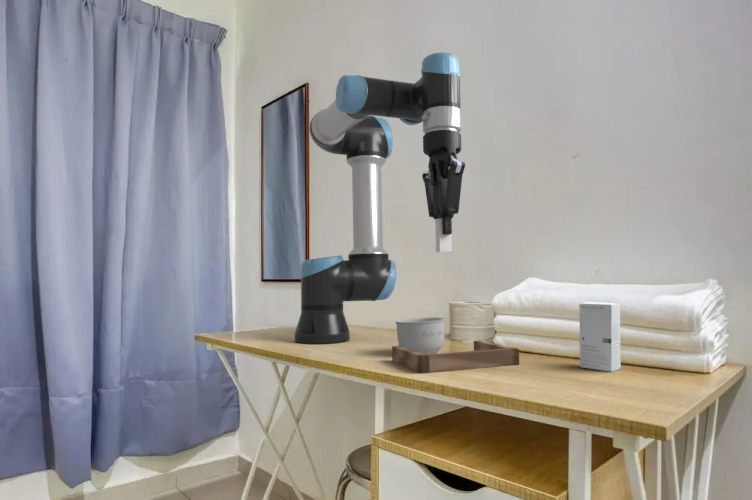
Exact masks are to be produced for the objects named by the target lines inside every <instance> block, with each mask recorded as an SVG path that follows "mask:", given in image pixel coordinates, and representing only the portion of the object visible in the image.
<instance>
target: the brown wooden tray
mask: <svg viewBox="0 0 752 500" xmlns="http://www.w3.org/2000/svg"><path fill="white" fill-rule="evenodd" d="M391 361H392V362H393V363H396V364H397V365H398V364H399V365H402V366H403V367H406V368H408V369H411V370H413V371H416V372H418V373H421V374H427V373H430V374H431V373H438V372H439V373H441V372H450V371H451V372H452V371H460V370H461V371H463V370H472V369H483V368H484V369H485V367H486V368H496V367H505V366H506V367H507V366H519V365H520V349H519V348H516V347H512V346H508V345H502V344H498V343H494V342H493V343H492V342H489V341H483V340H473V350H472V351H471V350H470V351H456V352H443V353H436V354H427V355H425V354H422V353H419V352H416V351H413V350H410V349H407V348H404V347H401V346H399V345H394V346H393V345H391Z"/></svg>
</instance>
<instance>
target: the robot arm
mask: <svg viewBox="0 0 752 500" xmlns="http://www.w3.org/2000/svg"><path fill="white" fill-rule="evenodd" d="M459 61H460V60H459V58H458V57H457V56H456V55H455V54H453V53H449V52H442V51H441V52H435V53H434V52H433V53H431V54H428V55H426V56H425V57H424V58H423V60H422V63H421V70H420V73H421V77H420V78H419V79H418V80H417V81H415V82H414V83H413V82H404V81H398V80H396V81H395V80H389V79H381V78H375V77H368V76H362V75H358V74H356V75H352V74H350V75H348V74H344V75H342V76H341V77H340V78H339V80H338V83H337V86H336V89H335V100H334V101H332V103H331V104H330V105H329V106H327V108H324V109H320V110H319V111H317V112H316V113H315V114H314V116H313V117H312V118H311V120H310V122H309V128H308V129H309V135H310V137H311V139H312V141H313V142H314V143H315V145H317V146H318V147H319V148H320V149H321V150H324V151H325V152H327V153H330V154H334V155H342V156H343V155H344V156H345V157H346V163H347V165H349V167H351V174H352V175H351V176H352V177H351V182H352V184H351V185H352V238H353V239H352V240H353V241H352V242H353V243H352V244H353V248H352V250H351V251H349V253H348V257H347V258H348V260H347V259H346V260H344V257H343V255H340V254H339V255H331V256H325V257H316V258H310V259H305V260H304V261H303V262H301V263H302V264H301V265H300V266H301V268H300V269H301V271H300V276H299V278H300V300H301V301H300V303H301V304H300V306H301V307H300V311H301V312H300V316H299V319H298V322H297V326H296V328H295V331H294V342H296V343H301V344H334V343H342V342H348V341H350V339H351V337H350V336H351V333H350V329H349V325H348V322H347V320H346V317H345V314H344V302H365V301H366V302H368V301H371V302H375V301H384V300H388V299H389V298H390V296H392V293H393V292H394V290H395V286H396V283H397V268H396V263H395V261H393V260H391V259H389V253H388V251H387V250H386V249H384V243H383V241H384V239H383V237H384V235H383V232H384V231H383V230H384V229H383V199H382V196H383V194H382V192H383V191H382V190H383V189H382V188H383V187H382V167H383V166H384V165H385V164H386V163H387V158H389V157H390V156H391V155H392V152H393V145H394V136H393V131H392V127H391V125H390V123H389V122H388V121H387V120H386V119H385V117H386V118H392V119H394V118H395V119H399V120H400V122H402V123H404V124H406V125H408V126H416V125H419V124H421V123H422V130H423V131H422V132H423V133H424V135H423V136H422V152H423V153H424V155H426V156H428V157H429V161H428V171H427V172H424V173H422V177H421V179H422V180H423V183H424V188H425V195H426V204H427V210H428V216H429V218H433V219H434V221H435V252H436V253H450V252H451V253H452V252H453V248H452V247H453V238H452V237H453V235H452V234H453V233H452V231H453V228H452V225H453V223H452V220H453V218H454V215H457V214H458V213H459V212H460V210H459V209H460V202H461V201H460V200H461V191H462V190H461V189H462V183H463V176H464V175H463V174H464V171H465V167H466V163H465V162H464V161H459V160H458V155H459V153H461V151H462V135H461V133H460V132H461V131H462V117H461V115H462V113H461V73H460V62H459ZM376 116H377V117H376ZM383 117H384V118H383Z"/></svg>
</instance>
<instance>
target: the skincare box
mask: <svg viewBox="0 0 752 500" xmlns="http://www.w3.org/2000/svg"><path fill="white" fill-rule="evenodd" d="M621 360H622V359H621V304H620V303H614V302H599V301H598V302H597V301H585V302H580V303H579V367H580V368H581V369H582V368H583V369H590V370H597V371H601V372H602V371H604V372H616V371H619V370H620V369H621V367H622V366H621V362H622V361H621Z"/></svg>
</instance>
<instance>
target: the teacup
mask: <svg viewBox="0 0 752 500" xmlns="http://www.w3.org/2000/svg"><path fill="white" fill-rule="evenodd" d="M444 321H445V319H444V317H432V316H431V317H413V318H404V319H399V320H398V319H397V320H395V324H396V334H397V343H398V346H401V347H404V348H407V349H410V350H413V351H416V352H419V353H422V354H425V355H427V354H438V353H439V351H440V350H441V349H442V348H443V347H444V344H445V324H444V323H445V322H444Z"/></svg>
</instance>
